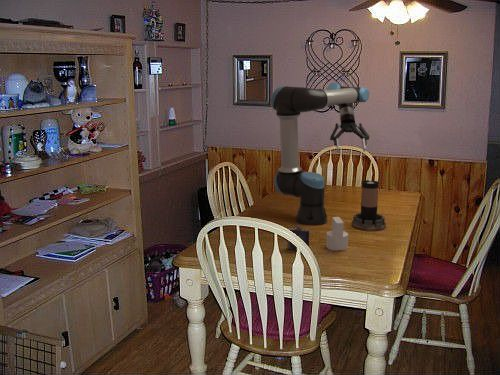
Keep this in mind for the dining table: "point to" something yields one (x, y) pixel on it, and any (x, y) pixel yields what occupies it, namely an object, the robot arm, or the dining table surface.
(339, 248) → the base with upright slab
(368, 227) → the ring collar holder
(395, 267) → the dining table surface
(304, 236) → the flask
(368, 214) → the travel mug
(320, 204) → the robot arm
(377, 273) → the dining table surface
